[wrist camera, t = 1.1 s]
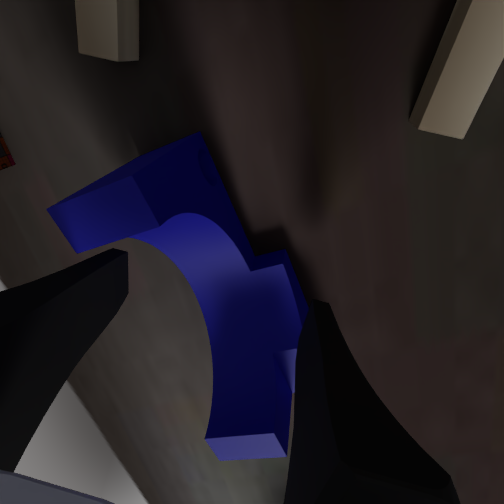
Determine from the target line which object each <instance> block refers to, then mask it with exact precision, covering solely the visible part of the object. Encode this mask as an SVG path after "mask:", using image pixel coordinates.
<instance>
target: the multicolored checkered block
mask: <svg viewBox="0 0 504 504" xmlns="http://www.w3.org/2000/svg"><path fill="white" fill-rule="evenodd" d="M13 165H15V162H14V160H13V158H12V156H11V154H10V152H9V150H8V148H7V146H6V144H5V141H4V139H3V137H2V135H1V133H0V170H2V169H5V168H8V167H10V166H13Z"/></svg>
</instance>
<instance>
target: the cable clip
mask: <svg viewBox="0 0 504 504" xmlns="http://www.w3.org/2000/svg"><path fill="white" fill-rule="evenodd" d="M46 210H47V211H48V213H49V214H50V215H51V217H52V218H53V220H54V221H55V223H56V224H57V226H58V227H59V228H60V230H61V231H62V233H63V234H64V236H65V237H66V239H67V240H68V242H69V243H70V244H71V246H72V247H73V249H74V250H75V252H76V253H81V252H84V251H87V250H90V249H93V248H96V247H99V246H102V245H105V244H108V243H111V242H114V241H117V240H120V239H124V238H127V237H130V238H135V239H139V240H142V241H145V242H147V243H149V244H151V245H153V246H154V247H156V248H158V249H159V250H160V251H162V252H163V253H164V254H166V255H167V256H168V257H169V258H170V259H171V260H172V261H173V262H174V263H175V264H176V265H177V267H178V268H179V269H180V270H181V272H182V273H183V274H184V276H185V277H186V279H187V280H188V282H189V284H190V285H191V287H192V289H193V291H194V293H195V295H196V297H197V299H198V302H199V304H200V307H201V309H202V312H203V315H204V318H205V322H206V326H207V330H208V334H209V339H210V345H211V352H212V362H213V396H212V406H211V413H210V419H209V424H208V428H207V432H206V436H205V440H206V442H207V443H208V445H209V446H210V447H211V449H212V450H213V452H214V453H215V455H216V456H217V458H218V459H219V460H220V461H224V460H241V459H258V458H275V457H287V449H288V437H289V425H290V413H291V401H292V393H295V361H296V354H297V346H298V340H299V336H300V333H301V330H302V327H303V324H304V321H305V319H306V316H307V313H308V310H309V308H308V305H307V302H306V300H305V297H304V295H303V292H302V290H301V287H300V285H299V282H298V280H297V277H296V274H295V272H294V269H293V267H292V264H291V262H290V259H289V257H288V254H287V252H286V249H283V250H279V251H275V252H271V253H267V254H263V255H259V256H255V255H254V253H253V250H252V248H251V246H250V244H249V241H248V239H247V237H246V235H245V232H244V230H243V228H242V225H241V223H240V221H239V219H238V216H237V214H236V212H235V210H234V207H233V205H232V203H231V201H230V198H229V196H228V194H227V191H226V189H225V187H224V185H223V182H222V180H221V178H220V176H219V173H218V171H217V169H216V166H215V164H214V162H213V160H212V157H211V155H210V153H209V151H208V148H207V146H206V144H205V142H204V139H203V137H202V135H201V132H200V131H199V132H197V133H194V134H192V135H190V136H187V137H185V138H182V139H180V140H177V141H175V142H173V143H170V144H168V145H165V146H163V147H161V148H158V149H156V150H153V151H151V152H148V153H146V154H144V155H141V156H139V157H137V158H135V159H134V160H132V161H130V162H128V163H127V164H125V165H123V166H121V167H120V168H118V169H116V170H114V171H113V172H111V173H109V174H107V175H105V176H104V177H102V178H100V179H98V180H97V181H95V182H93V183H91V184H90V185H88V186H86V187H84V188H83V189H81V190H79V191H77V192H76V193H74V194H72V195H70V196H69V197H67V198H65V199H63V200H62V201H60V202H58V203H56V204H55V205H53V206H51V207H49V208H47V209H46Z"/></svg>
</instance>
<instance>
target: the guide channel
mask: <svg viewBox="0 0 504 504" xmlns="http://www.w3.org/2000/svg"><path fill="white" fill-rule="evenodd" d="M75 9H76V22H77V35H78V48H79V53H81V54H86V55H90V56H95V57H99V58H103V59H108V60H112V61H117V62H123V61H139V0H75ZM503 58H504V0H457V2H456V4H455V7H454V9H453V12H452V14H451V17H450V19H449V22H448V24H447V27H446V29H445V32H444V34H443V37H442V39H441V41H440V44H439V46H438V49H437V51H436V54H435V56H434V59H433V61H432V64H431V66H430V69H429V71H428V74H427V76H426V79H425V81H424V84H423V86H422V89H421V91H420V94H419V96H418V98H417V101H416V103H415V106H414V108H413V111H412V113H411V116H410V118H409V122H410V123H412V124H413V125H414V126H415V127H416V128H417V129H419V130H424V131H428V132H433V133H437V134H441V135H446V136H450V137H455V138H459V139H463V138H464V136H465V134H466V132H467V130H468V128H469V126H470V124H471V122H472V120H473V118H474V116H475V114H476V112H477V110H478V108H479V106H480V104H481V102H482V100H483V98H484V96H485V94H486V92H487V90H488V88H489V86H490V84H491V82H492V80H493V78H494V76H495V74H496V72H497V70H498V68H499V66H500V64H501V62H502V60H503Z"/></svg>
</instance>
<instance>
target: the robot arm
mask: <svg viewBox="0 0 504 504" xmlns="http://www.w3.org/2000/svg"><path fill="white" fill-rule="evenodd" d="M127 295H128V252H126V251H122V250H118V249H114V248H112V249H109V250H107V251H104V252H102V253H100V254H97V255H95V256H93V257H91V258H88V259H86V260H84V261H82V262H79V263H77V264H75V265H72V266H70V267H68V268H66V269H63V270H61V271H58V272H56V273H53V274H50V275H48V276H45V277H43V278H40V279H38V280H35V281H32V282H29V283H26V284H23V285H20V286H17V287H14V288H11V289H7V290H4V291H1V292H0V504H114V503H112V502H109V501H107V500H104V499H101V498H98V497H94V496H91V495H88V494H84V493H81V492H78V491H74V490H71V489H68V488H64V487H61V486H57V485H54V484H51V483H48V482H44V481H41V480H37V479H34V478H31V477H28V476H24V475H21V474H18V473H14V470H15V468H16V466H17V464H18V462H19V461H20V459H21V457H22V455H23V453H24V451H25V449H26V447H27V445H28V444H29V442H30V440H31V438H32V437H33V435H34V433H35V431H36V429H37V428H38V426H39V424H40V422H41V421H42V419H43V417H44V415H45V414H46V412H47V410H48V409H49V407H50V406H51V403H52V402H53V401H54V399H55V397H56V395H57V394H58V392H59V391H60V389H61V387H62V386H63V384H64V383H65V381H66V380H67V378H68V377H69V375H70V373H71V372H72V370H73V369H74V367H75V366H76V365H77V363H78V362H79V361H80V359H81V358H82V357H83V355H84V354H85V353H86V352H87V350H88V349H89V348H90V347H91V345H92V344H93V343H94V342H95V340H96V339H97V338H98V337H99V335H100V334H101V333H102V332H103V330H104V329H105V328H106V327H107V325H108V324H109V323H110V321H111V320H112V319H113V318H114V316H115V315H116V314H117V312H118V310H119V309H120V307H121V305H122V304H123V302H124V300H125V298H126V297H127ZM284 504H460V501H459V498H458V495H457V492H456V489H455V487H454V484H453V482H452V479H451V476H450V475H449V474H448V473H447V472H446V471H445V470H444V469H443V468H442V467H441V466H440V465H439V464H438V463H437V462H436V461H435V460H434V459H433V458H432V457H431V456H430V455H428V454H427V453H426V452H425V451H424V450H423V449H422V448H421V447H420V446H419V444H418V443H417V442H416V441H415V440H414V439H413V438H412V437H411V436H410V435H409V434H408V432H407V431H406V430H405V429H404V428H403V427H402V426H401V425H400V423H399V422H398V421H397V420H396V419H395V417H394V416H393V415H392V414H391V412H390V411H389V410H388V409H387V407H386V406H385V405H384V404H383V402H382V401H381V400H380V398H379V397H378V396H377V394H376V393H375V391H374V390H373V389H372V387H371V386H370V384H369V383H368V381H367V380H366V378H365V376H364V375H363V373H362V371H361V370H360V368H359V366H358V364H357V363H356V361H355V359H354V357H353V355H352V354H351V352H350V350H349V348H348V346H347V344H346V342H345V340H344V337H343V335H342V333H341V331H340V329H339V326H338V324H337V322H336V319H335V317H334V314H333V312H332V309H331V306H330V305H329V303H326V302H323V301H319V300H315V299H312V302H311V304H310V307H309V310H308V313H307V316H306V319H305V321H304V324H303V327H302V330H301V333H300V336H299V340H298V346H297V354H296V361H295V402H294V429H293V438H292V446H291V455H290V463H289V471H288V479H287V486H286V493H285V501H284Z"/></svg>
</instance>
